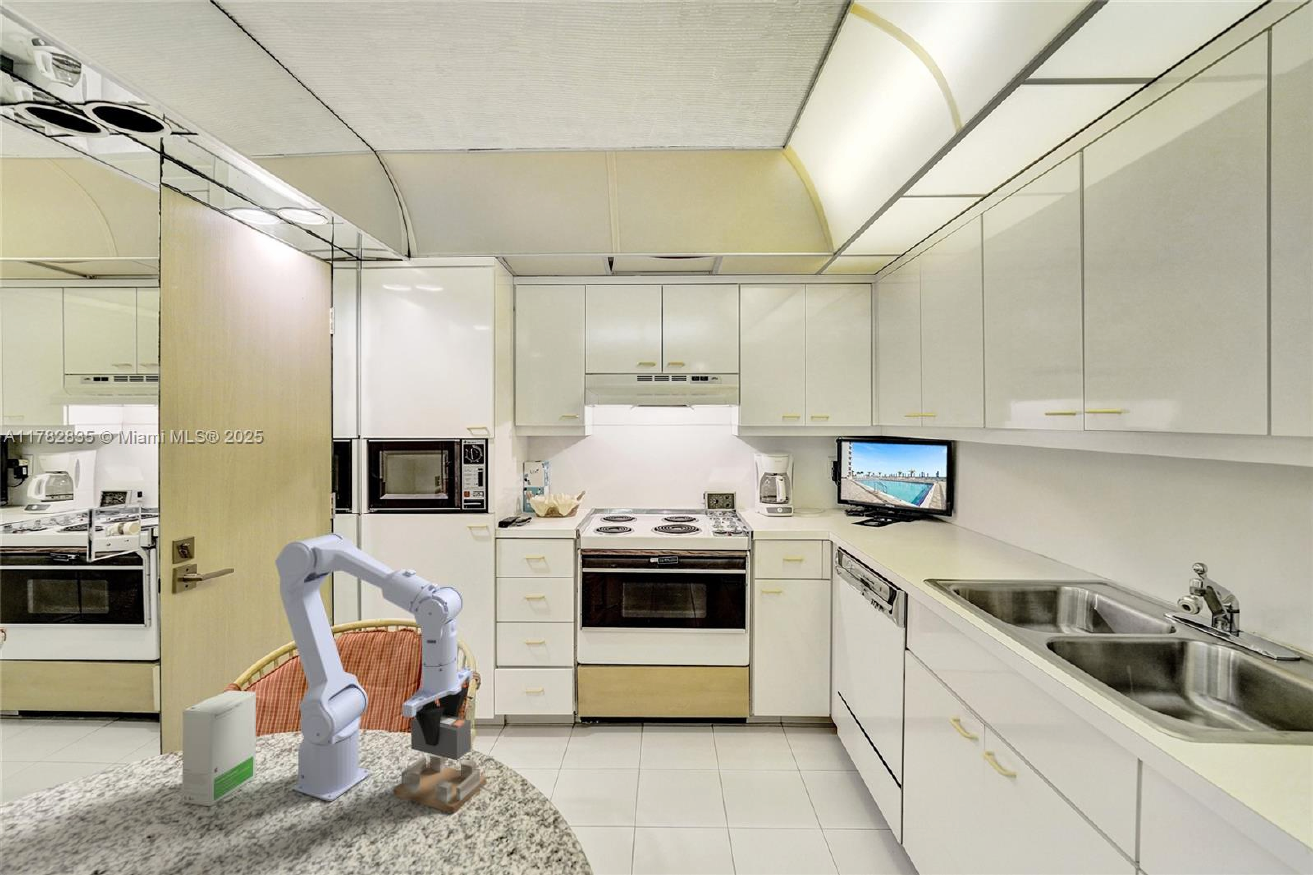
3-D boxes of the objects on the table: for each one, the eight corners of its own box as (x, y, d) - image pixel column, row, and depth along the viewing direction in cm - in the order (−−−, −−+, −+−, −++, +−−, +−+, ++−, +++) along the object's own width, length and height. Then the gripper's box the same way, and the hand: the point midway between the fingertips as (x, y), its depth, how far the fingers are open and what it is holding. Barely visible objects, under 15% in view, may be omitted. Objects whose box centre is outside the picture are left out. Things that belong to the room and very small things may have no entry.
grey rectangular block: (411, 748, 89) (411, 718, 90) (426, 738, 93) (426, 709, 93) (457, 760, 86) (456, 729, 86) (470, 749, 89) (470, 718, 89)
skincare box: (209, 808, 85) (209, 714, 85) (178, 803, 86) (178, 711, 87) (258, 776, 93) (258, 690, 94) (228, 772, 95) (229, 687, 95)
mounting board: (393, 795, 88) (393, 774, 88) (429, 767, 95) (429, 748, 95) (453, 813, 83) (453, 792, 83) (486, 782, 91) (486, 763, 91)
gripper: (425, 681, 81) (426, 767, 81) (485, 647, 95) (486, 720, 95) (392, 675, 84) (392, 758, 84) (455, 642, 97) (456, 714, 97)
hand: (440, 737), depth 89 cm, fingers closed on grey rectangular block, 3 cm apart
